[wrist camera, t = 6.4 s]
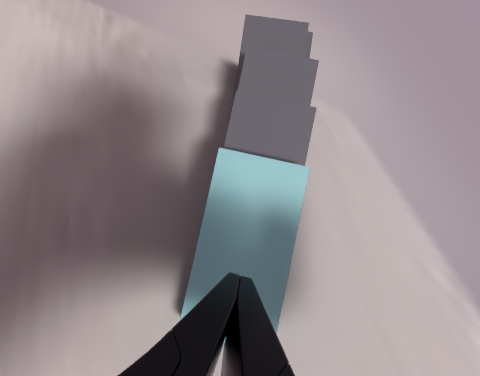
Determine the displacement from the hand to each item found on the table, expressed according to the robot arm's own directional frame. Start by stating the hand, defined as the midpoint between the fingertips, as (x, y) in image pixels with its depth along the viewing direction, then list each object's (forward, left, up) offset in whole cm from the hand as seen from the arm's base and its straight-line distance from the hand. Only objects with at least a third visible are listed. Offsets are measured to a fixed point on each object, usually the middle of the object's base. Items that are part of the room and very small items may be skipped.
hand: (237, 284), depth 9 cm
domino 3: (+1, +2, -6) cm, 7 cm away
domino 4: (-1, -2, -6) cm, 7 cm away
